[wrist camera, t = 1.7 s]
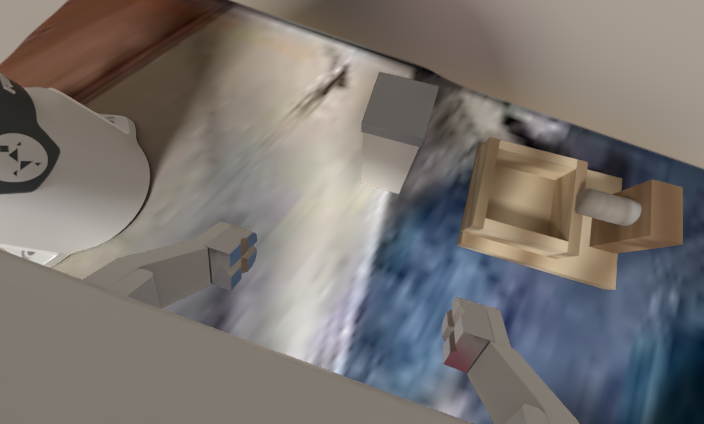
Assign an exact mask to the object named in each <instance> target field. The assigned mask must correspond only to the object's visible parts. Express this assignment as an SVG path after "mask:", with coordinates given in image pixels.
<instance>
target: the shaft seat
mask: <svg viewBox="0 0 704 424" xmlns="http://www.w3.org/2000/svg"><path fill="white" fill-rule="evenodd" d="M587 167H588V162H585V161H581V160H577V159H573V158H569V157H565V156H562V155H558V154H554V153H550V152H546V151H542V150H538V149H534V148H530V147H526V146H522V145H518V144H514V143H511V142H507V141H503V140H499V139H495V138H491V137H490V138H489V139H488V141H487V142H486V143H481V144H480V146H479V147H478V149H477V153H476V158H475V163H474V167H473V172H472V177H471V181H470V186H469V191H468V195H467V200H466V205H465V209H464V214H463V219H462V223H461V228H460V233H459V237H458V242H457V246H460V247H463V248H467V249H470V250H474V251H477V252H480V253H484V254H487V255H490V256H494V257H497V258H500V259H504V260H507V261H511V262H514V263H517V264H521V265H524V266H527V267H531V268H534V269H538V270H541V271H544V272H548V273H551V274H554V275H558V276H561V277H564V278H568V279H571V280H575V281H578V282H581V283H585V284H588V285H591V286H595V287H598V288H601V289H615V288H616V272H617V255H618V253H623V252H631V251H638V250H646V249H653V248H660V247H668V246H675V245H682V244H683V187H679V186H676V185H672V184H668V183H664V182H660V181H656V180H649V181H647V182H644V183H641V184H639V185H636V186H633V187H631V188H628V189H625V190H622V178H618V177H614V176H610V175H606V174H603V173H599V172H595V171H591V170H587ZM621 190H622V191H621Z"/></svg>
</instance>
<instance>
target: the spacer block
mask: <svg viewBox="0 0 704 424" xmlns="http://www.w3.org/2000/svg"><path fill="white" fill-rule="evenodd" d="M438 88H439V86H436V85H432V84H428V83H424V82H420V81H415V80H411V79H407V78H403V77H399V76H395V75H391V74H386V73H382V72H379V74H378V77H377V80H376V83H375V86H374V89H373V91H372V94H371V97H370V100H369V103H368V106H367V109H366V112H365V115H364V118H363V120H362V132H363V151H362V181H361V183H362V184H365V185H369V186H372V187H376V188H379V189H383V190H386V191H390V192H393V193H397V194H399V193H400V191H401V188H402V186H403V184H404V181H405V179H406V177H407V175H408V172H409V170H410V168H411V165H412V163H413V161H414V158H415V156H416V154H417V151H418V149H419V147H420V148H421V146H422V144H423V142H424V139H425V136H426V132H427V129H428V125H429V121H430V118H431V114H432V110H433V107H434V103H435V99H436V95H437V92H438Z"/></svg>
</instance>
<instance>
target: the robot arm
mask: <svg viewBox="0 0 704 424" xmlns="http://www.w3.org/2000/svg"><path fill="white" fill-rule="evenodd" d="M149 183H150V169H149V164H148V161H147V158H146V156H145V154H144V152H143V151H142V149H141V148H140V146H139V145H138V143H137V140H136V129H135V124H134V122H133V121H132V120H130V119H128V118H126V117H125V116H121V115H109V114H97V113H95V112H94V111H92V110H90V109H89V108H87V107H85V106H84V105H82V104H81V103H79V102H77V101H76V100H74V99H72V98H71V97H69V96H67V95H66V94H64V93H62V92H60V91H58V90H56V89H54V88H48V89H45V88H40V87H26V88H22V87H21V86H20V85H18V84H17V83H15V82H14V81H12V80H10V79H8V78H7V77H5V76H4V75H3V74H2V73H0V247H2V248H4V249H5V250H7V251H8V252H6V251H4V250H1V249H0V424H473V423H470V422H467V421H465V420H462V419H459V418H457V417H454V416H451V415H448V414H446V413H443V412H440V411H438V410H435V409H432V408H429V407H427V406H424V405H421V404H419V403H416V402H413V401H410V400H408V399H405V398H402V397H400V396H397V395H394V394H391V393H389V392H386V391H383V390H380V389H378V388H375V387H372V386H370V385H367V384H364V383H361V382H359V381H356V380H353V379H351V378H348V377H345V376H342V375H340V374H337V373H334V372H332V371H329V370H326V369H323V368H321V367H318V366H315V365H313V364H310V363H307V362H304V361H302V360H299V359H296V358H294V357H291V356H288V355H286V354H283V353H280V352H277V351H275V350H272V349H269V348H267V347H264V346H261V345H258V344H256V343H253V342H250V341H248V340H245V339H242V338H239V337H237V336H234V335H231V334H229V333H226V332H223V331H220V330H218V329H215V328H212V327H210V326H207V325H204V324H201V323H199V322H196V321H193V320H191V319H188V318H185V317H182V316H180V315H177V314H174V313H172V312H169V311H166V310H163V309H161V308H163V307H166V306H168V305H170V304H172V303H174V302H176V301H178V300H180V299H182V298H185V297H187V296H189V295H191V294H193V293H195V292H197V291H199V290H202V289H204V288H206V287H208V286H210V285H211V284H213V285H216V286H220V287H223V288H226V289H229V290H232V289H233V288H234V286H235V285H236V284H237V283H238V282H239V281H240V280H241V274H242V273H245V272H247V271H249V269H250V268H251V267H252V265H253V263H254V261H255V259H256V253H257V250H256V248H255V246H254V244H255V243H256V242H257V235H256V234H255V233H254V232H251V231H248V230H245V229H243V228H240V227H237V226H234V225H230V224H227V223H224V222H219V223H217V224H216V225H214V226H213V227H212V228H210V229H209V230H208V231H206V232H205V233H204V234H202V235H201V236H200V237H198V238H197V239H196V240H194V241H193V242H189V241H187V242H183V243H179V244H175V245H170V246H166V247H162V248H158V249H154V250H150V251H146V252H142V253H138V254H133V255H129V256H125V257H121V258H117V259H115V260H114V261H112V262H111V263H109V264H107V265H106V266H104V267H102V268H101V269H99V270H98V271H96V272H94V273H93V274H91V275H90V276H88V277H86V278H85V279H83V280H82V279H79V278H77V277H74V276H71V275H68V274H66V273H63V272H60V271H58V270H55V269H52V268H50V267H52V266H54V265H56V264H57V263H59V262H60V261H62V260H63V259H65V258H66V257H68V256H69V255H70V254H73V253H75V252H78V251H82V250H85V249H89V248H92V247H95V246H97V245H100V244H102V243H104V242H106V241H108V240H109V239H111V238H112V237H114V236H115V235H117V234H118V233H119V232H121V231H122V230H123V229H124V228H125V227H126V226H127V225H128V224H129V223H130V222H131V221H132V220H133V218H134V217H135V216H136V214H137V213H138V211H139V210H140V208H141V207H142V205H143V203H144V200H145V198H146V195H147V192H148V188H149ZM442 338H443V339H444V341H445V344H444V345H443V347H442V350H443V364H445V365H447V366H450V367H453V368H455V369H458V370H461V371H463V372H466V373H467V375H468V377H469V379H470V381H471V383H472V385H473V386H474V388H475V390H476V392H477V394H478V395H479V397H480V399H481V401H482V403H483V405H484V406H485V408H486V410H487V412H488V414H489V415H490V417H491V419H492V421H493V423H494V424H579V422H578V420H577V419H576V418H575V417H574V416H573V415H572V414H571V413H570V411H569V410H568V409H567V408H566V407H565V406H564V405H563V403H562V402H561V401H560V400H559V399H558V398H557V397H556V395H555V394H554V393H553V392H552V391H551V390H550V389H549V387H548V386H547V385H546V384H545V383H544V382H543V381H542V379H541V378H540V377H539V376H538V375H537V374H536V373H535V371H534V370H533V369H532V368H531V367H530V366H529V365H528V363H527V362H526V361H525V360H524V359H523V358H522V357H521V355H520V354H519V353H518V352H517V351H516V350H515V349H512V348H511V346H510V343H509V339H508V336H507V333H506V329H505V326H504V323H503V319H502V316H501V313H500V311H499V310H498V309H495V308H492V307H488V306H485V305H481V304H478V303H474V302H471V301H468V300H465V299H462V298H458V297H456V298H455V299H454V300H453V302H452V310H450V311H448V312H447V313H446V315H445V317H444V320H443V324H442Z"/></svg>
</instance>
